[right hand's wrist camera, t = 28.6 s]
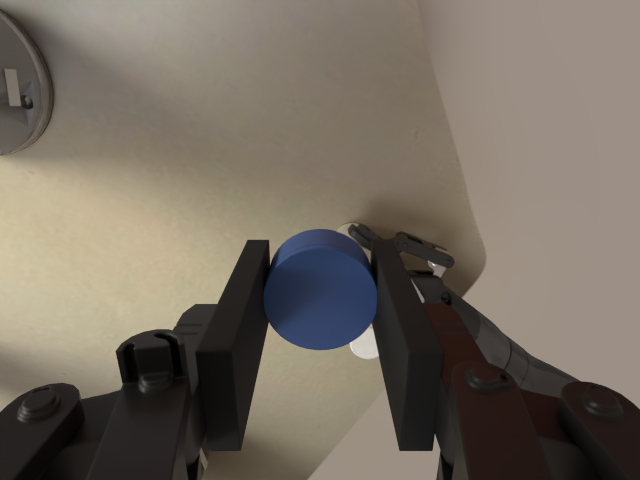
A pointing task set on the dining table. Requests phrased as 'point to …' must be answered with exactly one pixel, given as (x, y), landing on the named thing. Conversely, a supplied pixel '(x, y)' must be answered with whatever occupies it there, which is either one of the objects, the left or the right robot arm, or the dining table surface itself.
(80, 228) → the dining table surface
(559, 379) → the left robot arm
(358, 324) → the cap
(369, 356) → the bottle
